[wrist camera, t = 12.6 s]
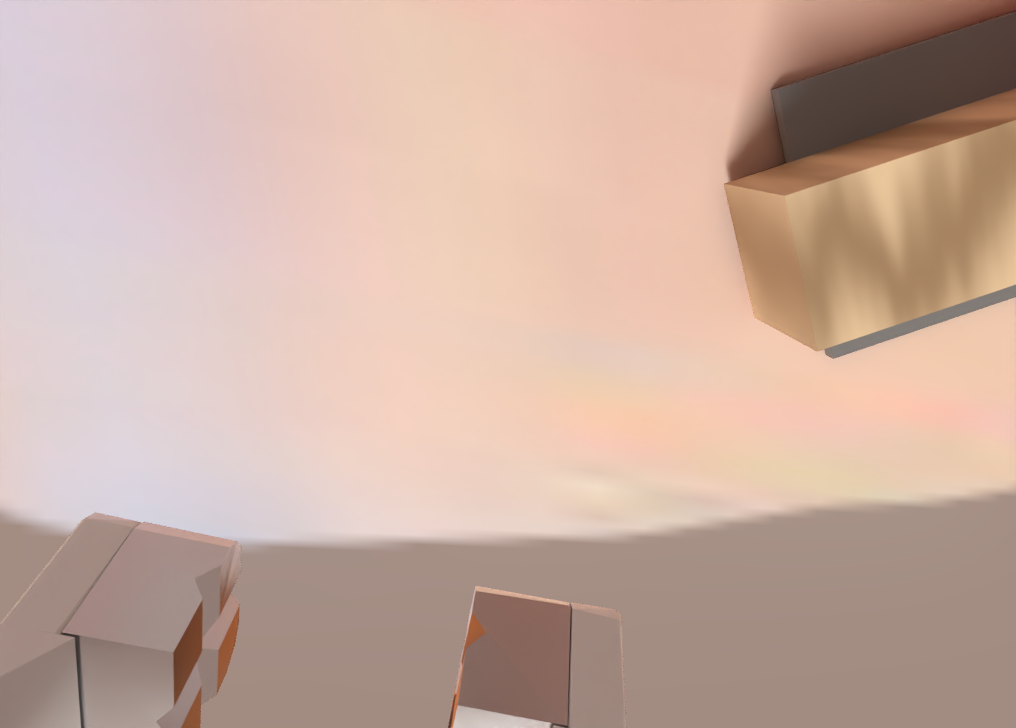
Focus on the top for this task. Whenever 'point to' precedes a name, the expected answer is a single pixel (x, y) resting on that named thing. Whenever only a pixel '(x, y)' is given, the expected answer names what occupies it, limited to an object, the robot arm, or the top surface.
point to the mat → (899, 114)
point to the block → (882, 225)
